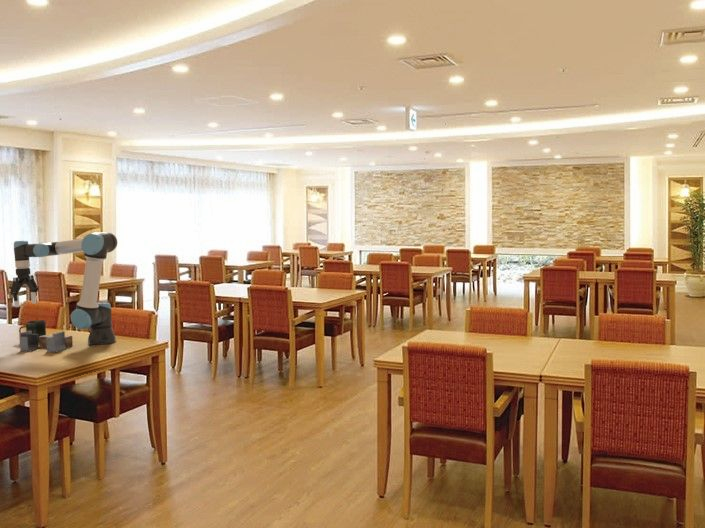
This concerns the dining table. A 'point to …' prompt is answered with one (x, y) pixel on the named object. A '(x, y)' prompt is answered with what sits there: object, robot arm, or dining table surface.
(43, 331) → the mug
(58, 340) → the bracket
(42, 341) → the rail
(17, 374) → the dining table surface
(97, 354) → the dining table surface
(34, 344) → the bracket
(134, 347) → the dining table surface
